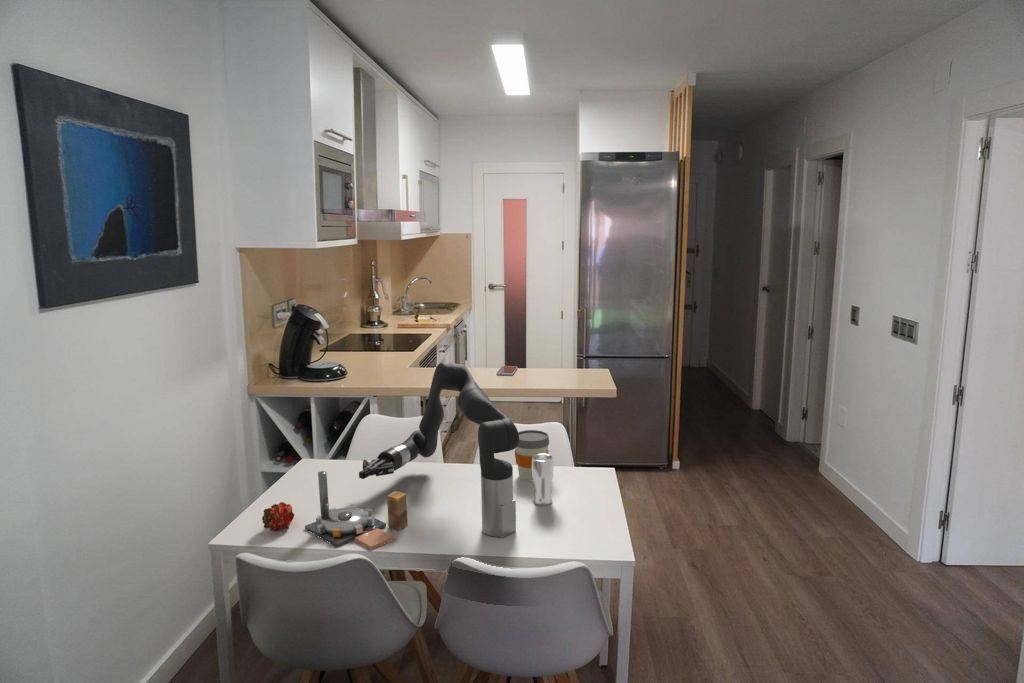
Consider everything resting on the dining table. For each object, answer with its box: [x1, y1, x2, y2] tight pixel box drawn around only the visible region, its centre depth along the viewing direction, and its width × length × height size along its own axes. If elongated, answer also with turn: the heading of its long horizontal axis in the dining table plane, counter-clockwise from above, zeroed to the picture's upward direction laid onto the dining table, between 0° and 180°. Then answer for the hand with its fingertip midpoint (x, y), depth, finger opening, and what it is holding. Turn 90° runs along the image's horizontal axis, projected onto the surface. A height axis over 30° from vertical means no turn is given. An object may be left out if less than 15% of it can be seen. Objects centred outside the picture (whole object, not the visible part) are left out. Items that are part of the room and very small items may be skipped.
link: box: [386, 490, 409, 531], centre depth 202 cm, size 4×4×10 cm
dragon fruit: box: [261, 501, 295, 532], centre depth 203 cm, size 8×8×12 cm
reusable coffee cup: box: [513, 429, 550, 482], centre depth 240 cm, size 13×13×15 cm
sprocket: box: [315, 470, 375, 537], centre depth 201 cm, size 17×17×16 cm
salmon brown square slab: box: [354, 528, 395, 550], centre depth 195 cm, size 8×8×1 cm
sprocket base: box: [304, 517, 387, 548], centre depth 203 cm, size 17×17×1 cm
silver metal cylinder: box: [532, 453, 555, 506], centre depth 218 cm, size 7×7×15 cm
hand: (360, 475), depth 216 cm, fingers closed
